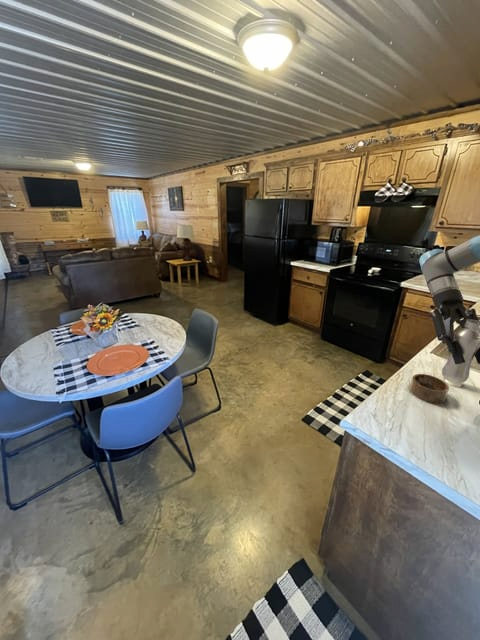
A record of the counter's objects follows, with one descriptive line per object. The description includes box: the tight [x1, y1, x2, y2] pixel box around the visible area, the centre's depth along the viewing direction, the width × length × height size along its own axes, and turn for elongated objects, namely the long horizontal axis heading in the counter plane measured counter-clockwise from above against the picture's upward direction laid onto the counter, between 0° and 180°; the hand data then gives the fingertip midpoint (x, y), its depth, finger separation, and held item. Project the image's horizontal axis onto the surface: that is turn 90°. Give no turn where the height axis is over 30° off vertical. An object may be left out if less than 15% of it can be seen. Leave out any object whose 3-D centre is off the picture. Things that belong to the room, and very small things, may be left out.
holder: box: [409, 373, 450, 404], centre depth 102 cm, size 12×12×6 cm
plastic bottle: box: [441, 319, 480, 384], centre depth 79 cm, size 6×7×20 cm
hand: (471, 362), depth 76 cm, fingers closed on plastic bottle, 6 cm apart
